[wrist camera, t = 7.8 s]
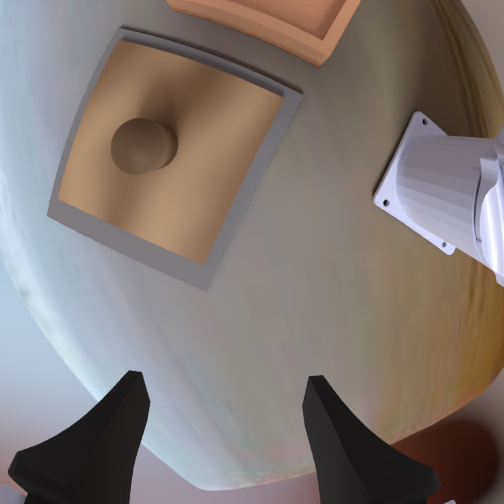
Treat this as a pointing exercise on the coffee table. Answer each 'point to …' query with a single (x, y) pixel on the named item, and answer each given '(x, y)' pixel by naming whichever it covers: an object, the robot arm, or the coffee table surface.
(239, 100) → the lid
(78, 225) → the mat
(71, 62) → the coffee table surface
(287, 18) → the dish
